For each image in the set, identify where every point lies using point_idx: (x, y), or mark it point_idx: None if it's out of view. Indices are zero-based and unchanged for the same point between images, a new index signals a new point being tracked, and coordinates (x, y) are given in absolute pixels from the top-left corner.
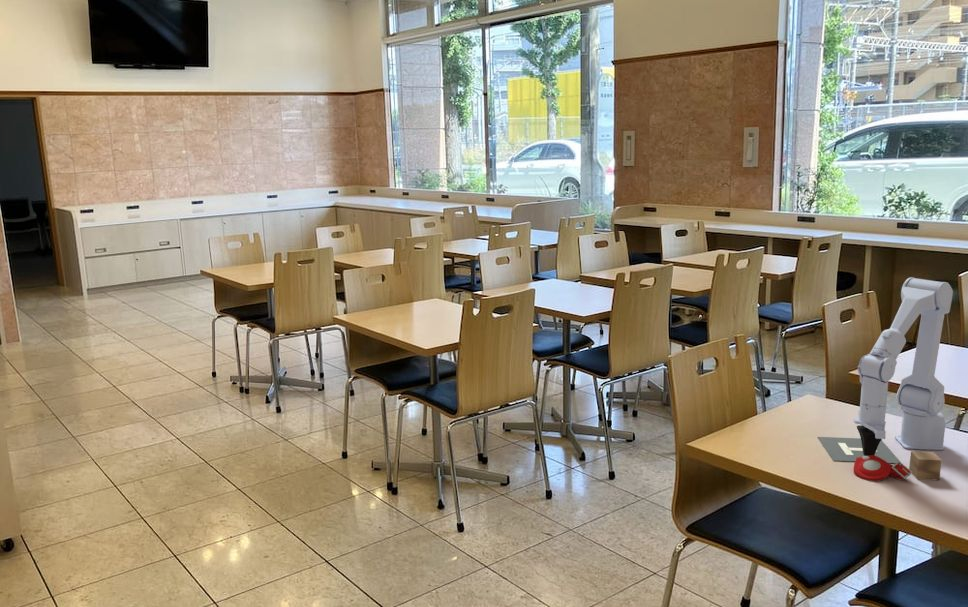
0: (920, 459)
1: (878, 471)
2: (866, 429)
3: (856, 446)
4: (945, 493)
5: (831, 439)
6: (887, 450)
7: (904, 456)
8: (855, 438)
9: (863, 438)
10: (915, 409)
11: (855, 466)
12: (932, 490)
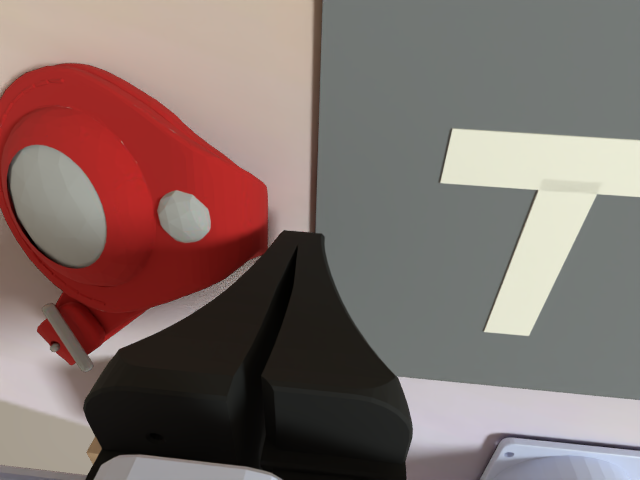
0: (90, 456)
1: (13, 218)
2: (198, 449)
3: (602, 254)
4: (24, 382)
5: None
6: (491, 374)
7: (413, 403)
8: None
9: (189, 322)
10: None
11: (95, 94)
12: (31, 358)
